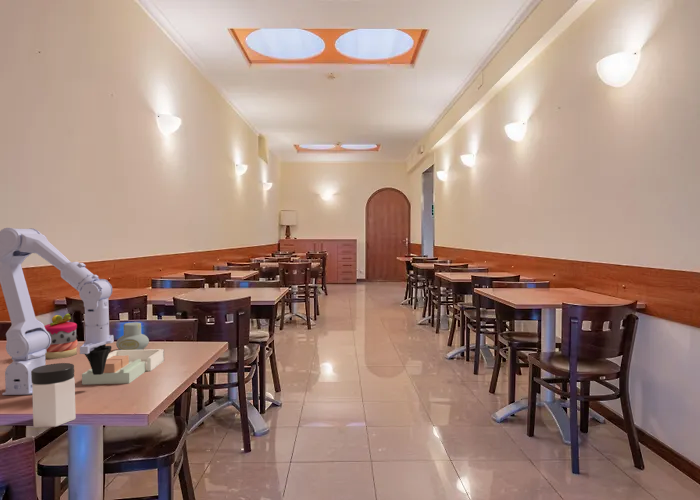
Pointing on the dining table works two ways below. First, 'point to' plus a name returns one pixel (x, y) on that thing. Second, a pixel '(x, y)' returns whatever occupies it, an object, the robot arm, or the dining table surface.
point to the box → (142, 356)
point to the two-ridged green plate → (116, 374)
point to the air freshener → (132, 338)
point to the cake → (61, 338)
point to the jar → (53, 394)
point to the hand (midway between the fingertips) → (98, 374)
